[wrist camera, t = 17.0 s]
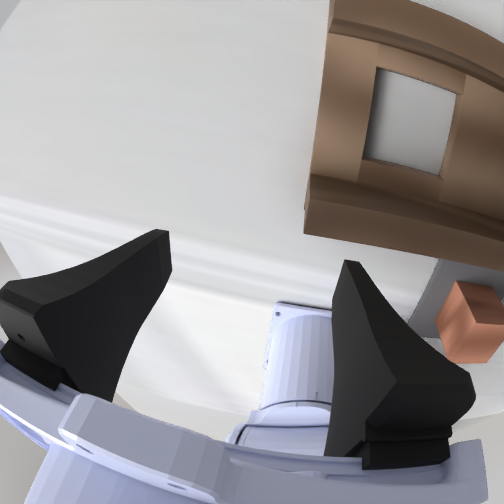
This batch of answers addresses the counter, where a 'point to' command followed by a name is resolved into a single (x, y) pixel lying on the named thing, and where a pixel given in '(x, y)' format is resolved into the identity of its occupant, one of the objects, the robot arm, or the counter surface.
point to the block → (471, 323)
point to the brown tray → (400, 177)
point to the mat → (441, 288)
